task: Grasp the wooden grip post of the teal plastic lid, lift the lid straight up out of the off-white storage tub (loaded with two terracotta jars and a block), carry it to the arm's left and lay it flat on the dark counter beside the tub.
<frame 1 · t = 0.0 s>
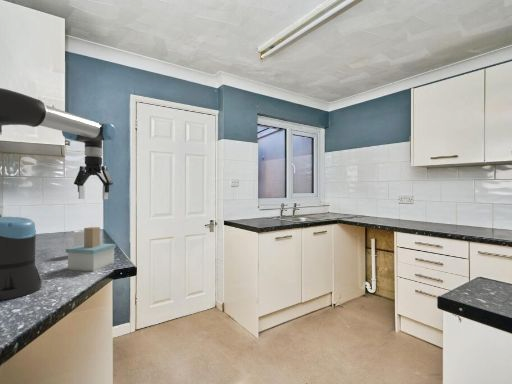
hand: (93, 199, 139), 28 cm above the countertop, fingers open, 13 cm apart
lid: (91, 249, 118), point 7 cm above the countertop, touching tub
mug: (79, 255, 139), on the countertop
tub: (91, 266, 118), on the countertop
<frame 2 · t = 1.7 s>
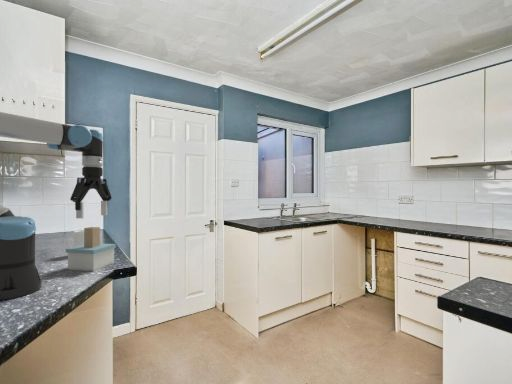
hand: (92, 216, 118), 21 cm above the countertop, fingers open, 13 cm apart
nothing on the countertop moved.
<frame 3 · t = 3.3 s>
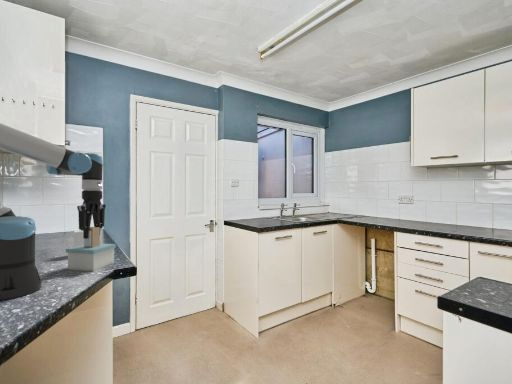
hand: (91, 244, 118), 9 cm above the countertop, fingers closed on lid, 4 cm apart
lid: (91, 249, 118), point 7 cm above the countertop, touching gripper, tub
everything else where it was.
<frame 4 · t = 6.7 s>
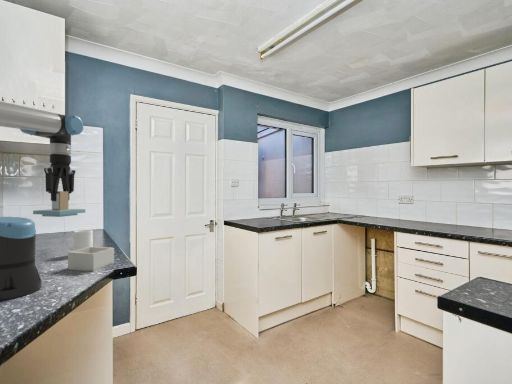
hand: (60, 208, 120), 24 cm above the countertop, fingers closed on lid, 4 cm apart
lid: (60, 213, 120), point 22 cm above the countertop, touching gripper
everything else where it was.
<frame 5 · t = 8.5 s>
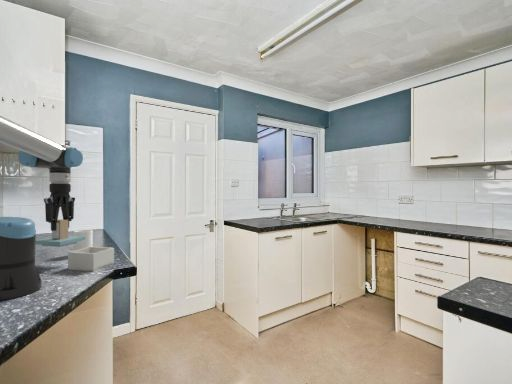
hand: (60, 237, 120), 12 cm above the countertop, fingers closed on lid, 4 cm apart
lid: (60, 241, 120), point 10 cm above the countertop, touching gripper
everything else where it was.
when the fingers open (5 cm above the countertop, at t = 10.0 s): lid drops 2 cm, point 1 cm above the countertop.
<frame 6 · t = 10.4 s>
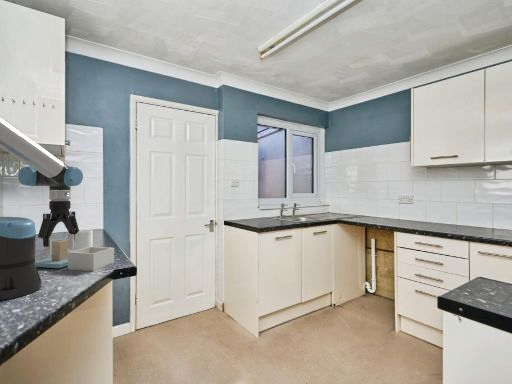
hand: (59, 251, 120), 6 cm above the countertop, fingers open, 10 cm apart
lid: (59, 263, 120), point 1 cm above the countertop
everything else where it was.
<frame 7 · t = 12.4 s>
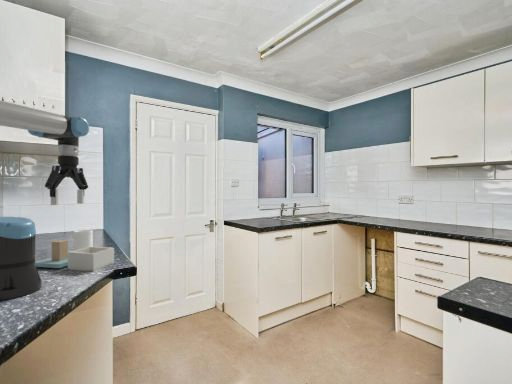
hand: (68, 204, 122), 26 cm above the countertop, fingers open, 13 cm apart
nothing on the countertop moved.
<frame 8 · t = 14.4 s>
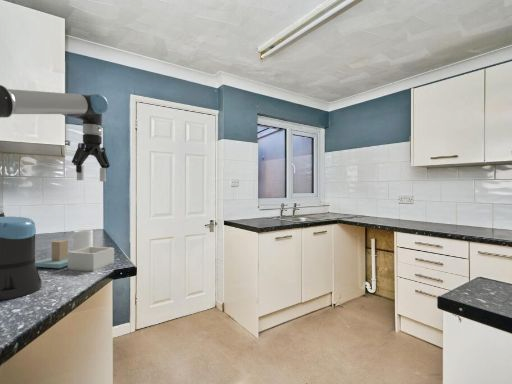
hand: (92, 181, 128), 37 cm above the countertop, fingers open, 13 cm apart
nothing on the countertop moved.
at the end: lid inside the target area (0.0 cm from its centre), point 0.8 cm above the countertop; lid tilted 0°; the gripper is holding nothing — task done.
